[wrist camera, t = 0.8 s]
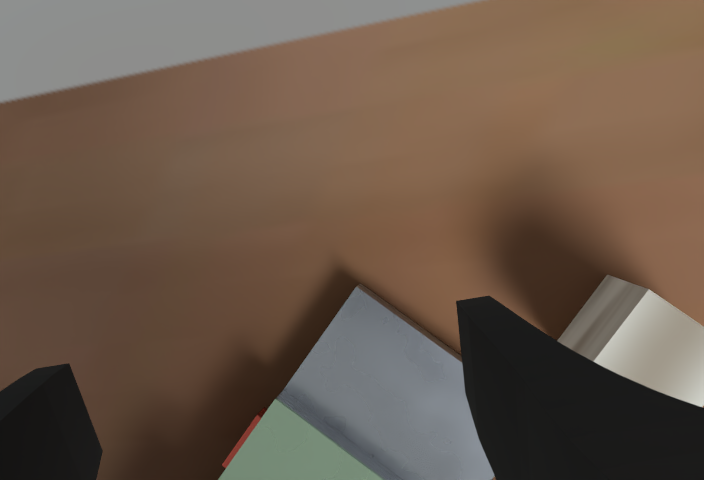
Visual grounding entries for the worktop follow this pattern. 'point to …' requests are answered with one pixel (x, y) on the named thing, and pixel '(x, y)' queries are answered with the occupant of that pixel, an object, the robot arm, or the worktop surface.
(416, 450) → the stepped stand
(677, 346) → the column block
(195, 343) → the worktop surface
